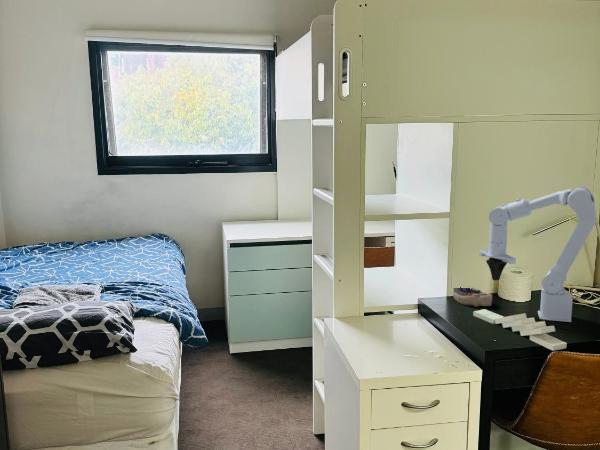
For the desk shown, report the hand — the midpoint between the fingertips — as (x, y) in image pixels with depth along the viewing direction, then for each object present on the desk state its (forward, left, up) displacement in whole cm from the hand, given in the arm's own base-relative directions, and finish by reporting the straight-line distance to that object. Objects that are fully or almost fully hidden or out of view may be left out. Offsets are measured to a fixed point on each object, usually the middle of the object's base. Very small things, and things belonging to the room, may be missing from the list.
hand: (495, 279), depth 191 cm
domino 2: (-2, +14, -10) cm, 17 cm away
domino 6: (-12, +25, -10) cm, 29 cm away
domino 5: (-9, +23, -10) cm, 26 cm away
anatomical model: (+8, -6, -11) cm, 15 cm away
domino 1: (+5, +8, -10) cm, 14 cm away
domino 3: (-4, +17, -10) cm, 20 cm away
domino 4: (-7, +20, -10) cm, 23 cm away
